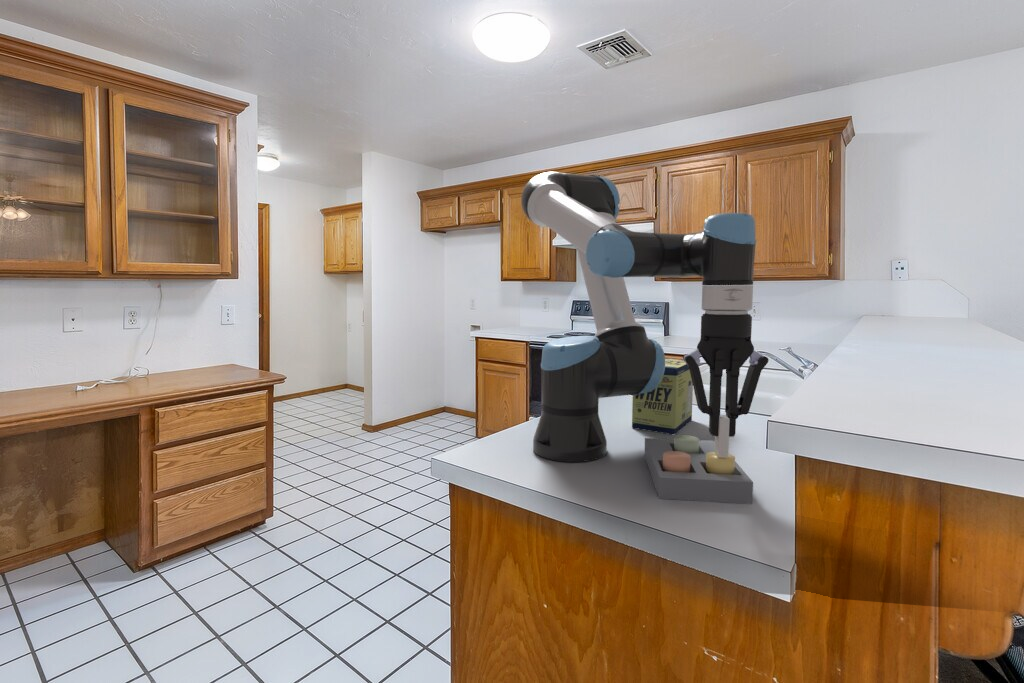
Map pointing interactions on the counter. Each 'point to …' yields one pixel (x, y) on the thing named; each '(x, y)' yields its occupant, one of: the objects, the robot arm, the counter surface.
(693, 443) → the sage button
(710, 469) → the mustard button
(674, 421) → the protein box
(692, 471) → the console
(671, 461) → the terracotta button
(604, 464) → the counter surface
